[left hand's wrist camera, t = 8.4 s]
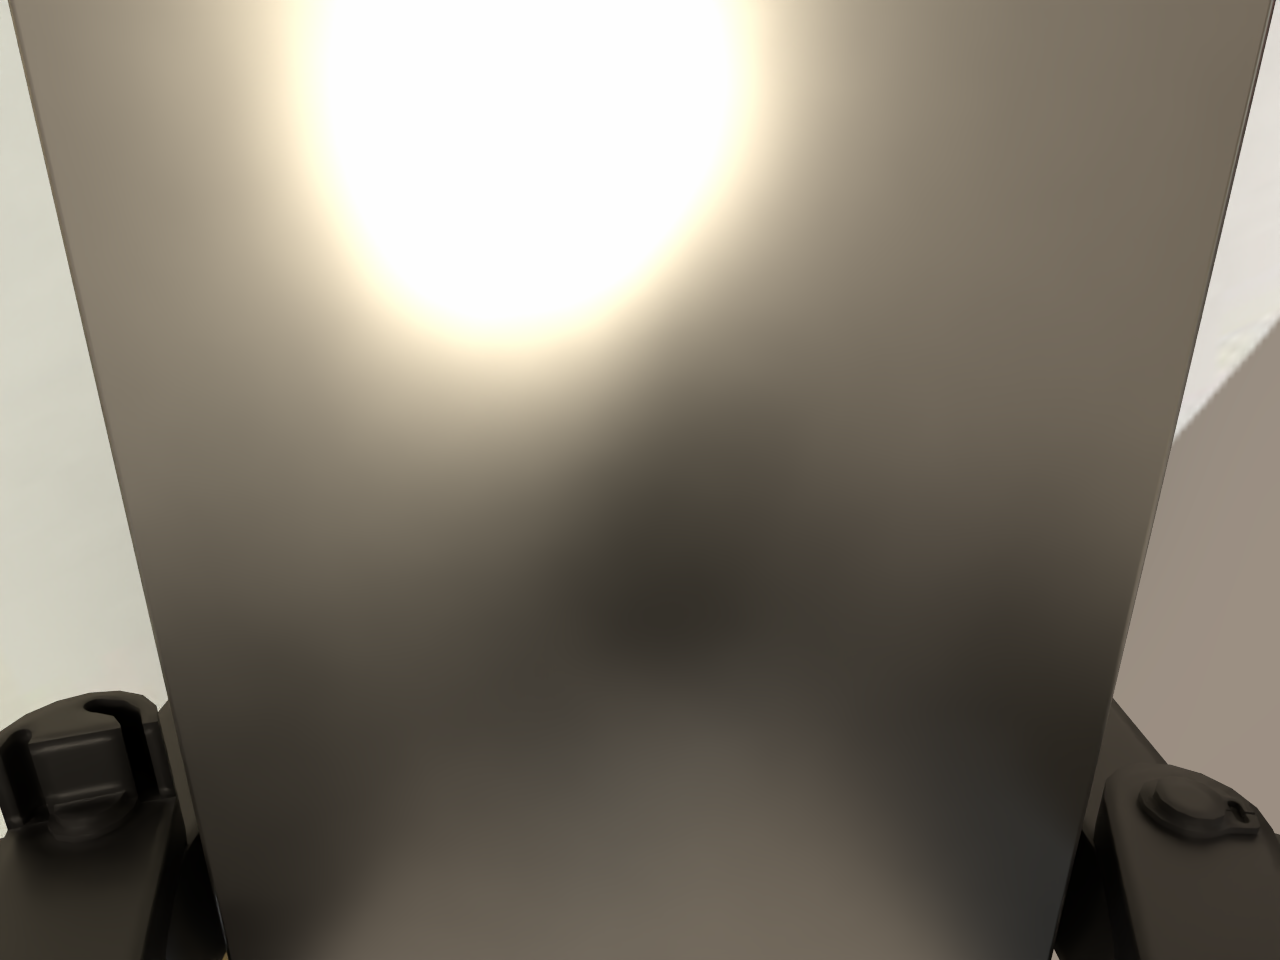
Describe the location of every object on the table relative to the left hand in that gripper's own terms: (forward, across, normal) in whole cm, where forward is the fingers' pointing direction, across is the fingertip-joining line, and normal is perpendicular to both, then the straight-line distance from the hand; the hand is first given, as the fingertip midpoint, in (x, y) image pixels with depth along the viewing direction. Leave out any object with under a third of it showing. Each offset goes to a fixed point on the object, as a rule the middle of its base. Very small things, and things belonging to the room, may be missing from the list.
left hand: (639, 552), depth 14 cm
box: (+1, 0, -7) cm, 7 cm away
